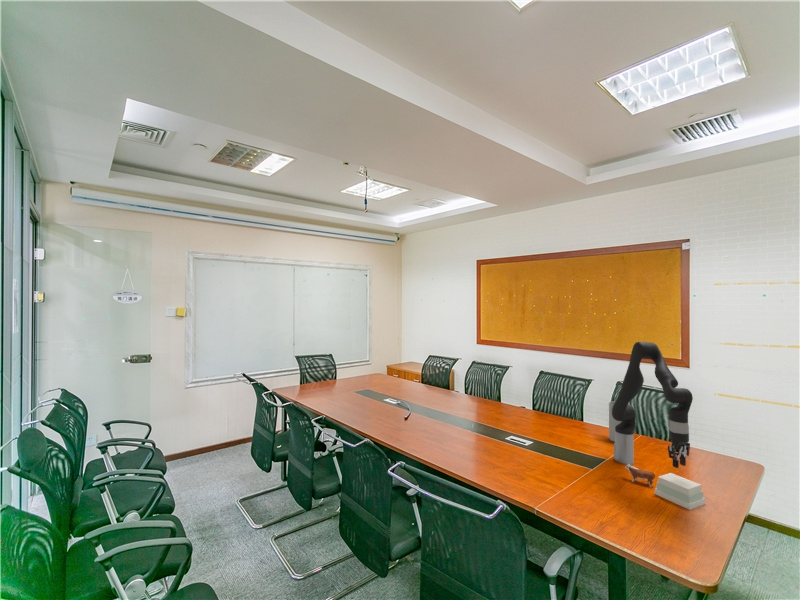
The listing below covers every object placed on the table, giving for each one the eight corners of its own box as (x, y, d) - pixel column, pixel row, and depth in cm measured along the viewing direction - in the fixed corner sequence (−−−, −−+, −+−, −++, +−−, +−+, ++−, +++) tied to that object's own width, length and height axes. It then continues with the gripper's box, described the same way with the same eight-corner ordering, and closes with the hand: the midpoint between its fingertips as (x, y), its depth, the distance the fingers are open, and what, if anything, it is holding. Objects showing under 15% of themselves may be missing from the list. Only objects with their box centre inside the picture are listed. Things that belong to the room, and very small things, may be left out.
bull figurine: (625, 477, 194) (625, 461, 194) (655, 486, 184) (655, 470, 184) (623, 479, 191) (623, 464, 191) (653, 489, 181) (653, 472, 181)
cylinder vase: (632, 440, 245) (632, 403, 245) (628, 446, 236) (628, 407, 236) (611, 436, 253) (611, 400, 254) (607, 441, 244) (606, 404, 244)
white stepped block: (654, 494, 176) (654, 476, 176) (669, 489, 181) (669, 471, 181) (690, 510, 162) (689, 490, 162) (705, 504, 167) (704, 485, 167)
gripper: (678, 425, 178) (679, 460, 178) (661, 430, 172) (661, 465, 172) (696, 430, 171) (697, 466, 171) (678, 435, 165) (679, 472, 165)
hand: (679, 466), depth 171 cm, fingers open, 5 cm apart
